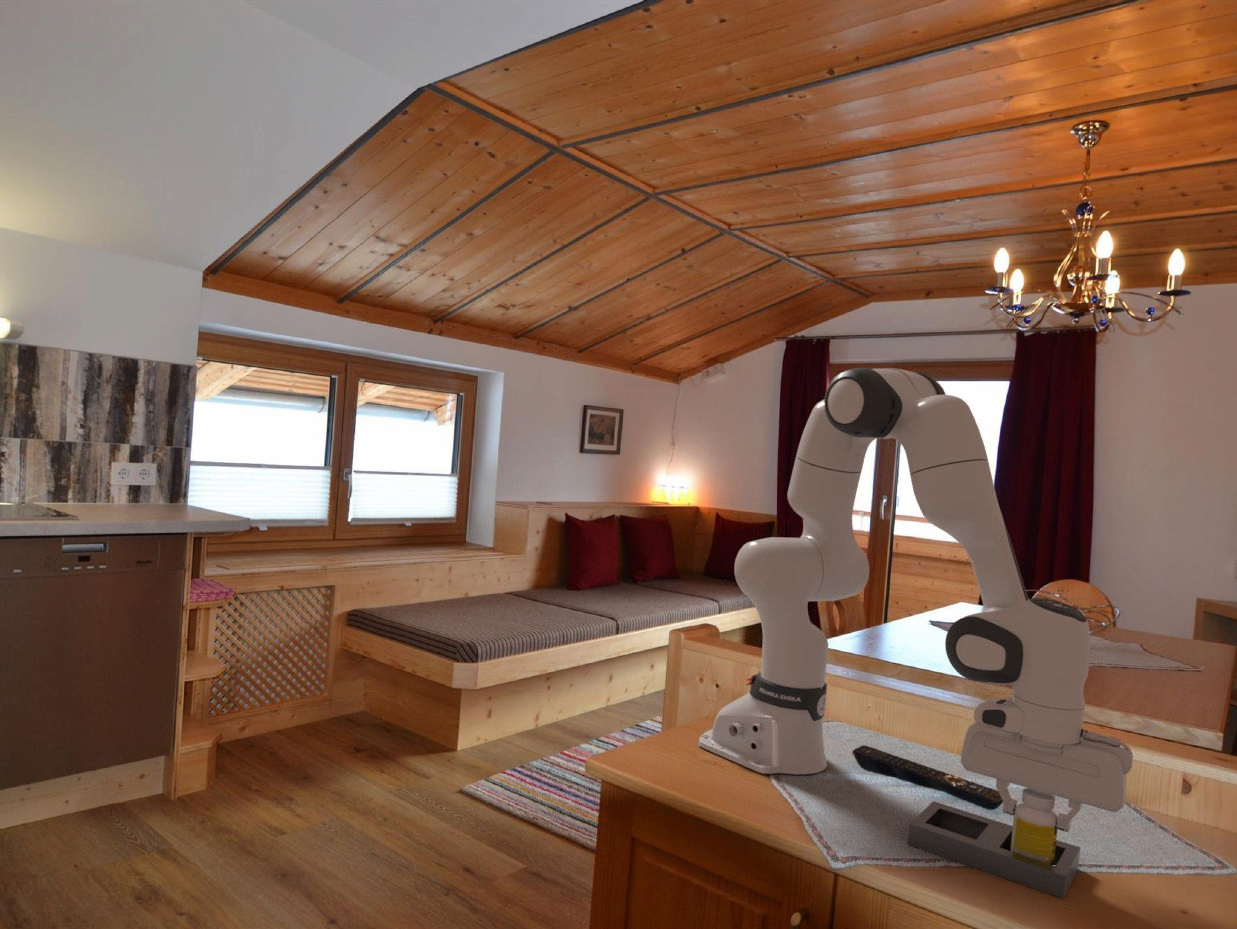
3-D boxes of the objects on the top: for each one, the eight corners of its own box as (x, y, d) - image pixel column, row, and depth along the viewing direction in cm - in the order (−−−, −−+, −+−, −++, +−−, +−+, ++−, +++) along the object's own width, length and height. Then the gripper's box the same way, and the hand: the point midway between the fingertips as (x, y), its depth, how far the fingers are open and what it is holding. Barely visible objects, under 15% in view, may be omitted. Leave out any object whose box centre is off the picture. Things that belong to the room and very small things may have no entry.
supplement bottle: (1058, 877, 116) (1066, 804, 116) (1015, 870, 117) (1022, 798, 117) (1046, 858, 121) (1053, 789, 121) (1005, 852, 122) (1011, 783, 122)
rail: (907, 844, 124) (909, 823, 124) (931, 820, 133) (933, 801, 132) (1063, 899, 112) (1065, 876, 112) (1078, 868, 121) (1080, 847, 121)
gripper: (1137, 736, 115) (1126, 839, 115) (974, 697, 127) (965, 791, 127) (1131, 748, 110) (1119, 856, 110) (962, 706, 122) (953, 804, 122)
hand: (1035, 821), depth 119 cm, fingers closed on supplement bottle, 5 cm apart
